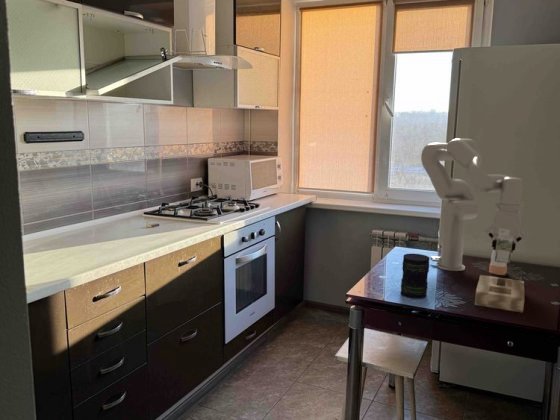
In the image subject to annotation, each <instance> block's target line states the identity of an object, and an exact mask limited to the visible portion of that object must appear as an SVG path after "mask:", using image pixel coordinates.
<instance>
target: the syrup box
mask: <svg viewBox="0 0 560 420" xmlns="http://www.w3.org/2000/svg"><path fill="white" fill-rule="evenodd" d="M509 232H510V230H508V229H503V228H499V234H498V236H497V238H496V247H495V252H494V260H495V261H496V262H503V263H507V264H510V260H511V254H512V253H511V249H512V242H513V236H509Z"/></svg>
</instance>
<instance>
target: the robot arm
mask: <svg viewBox="0 0 560 420" xmlns="http://www.w3.org/2000/svg"><path fill="white" fill-rule="evenodd" d="M478 151H479V146H478V144H477V142H476V141H475V140H474V139H471V138H454V139H451V140H450V141H449V142H431V143H429V144H426V145H425V146H424V147H423V149H422V151H421V155H420V156H421V157H420V159H421V160H420V161H421V165H422V167H423V168H424V171H425V172H426V174H427V175H428V177H429V179H430V181H431V185H432V186H433V188H434V190H435V192H436V194H437V196H438V198H439V199H441V200H443V201H446V202H445V203H444V204H443V205H442V211H441V213H442V238H441V249H440V256H433V255H431V256H430V261H431V262H436V264H435V265H436V268H438V269H441V270H444V271H450V272H463V271H465V269H466V266H465V265H464V264H463V256H464V255H463V254H464V245H465V233H466V229H465V225H464V223H463V221H468V220H474V219H476V218H477V217H478V215H479V213H480V206H479V203H478V201H477V199H476V197H475V195H474V193H473V192H472V189H471V187H470V185H469V184H468V182H466V181H465V180H463V179H459V178H456V179H455V178H452V177H451V175H450V173H449V171H448V169H447V168H446V167H445V166H444V165H443V164H442V163H441V162H452V161H456V162H457V163H458V164H459V165H460V166H461V167H462V169H464V170H465V175H466V177H467V180H468V181H469V182H470V184H471V185H473V186H474V188H476V190H478V191H480V192H482V193H484V194H485V193H486V194H488V193H489V194H492V193H493V194H494V193H500V198H499V202H498V203H496V202H495V206H494V207H496V208H498V209H496V210H495V214H494V218H493V223H492V224H491V225H489V226H488V227H486V228H485V231H484V232H486V234H487V235H488V236H489V238H491V240H492V243H491V248H492V251H493V250H495V247H496V237H497V236H498V234H499V228H503V229H508V230H510V232H509V236H513V242H512V249H511V254H512V253H513V252H515V250H516V244H517V243H519V242H520V241H521V240H523V239H524V238H526V237H527V234H526V233H525V231H524V230H523V229H522V228H521V222H522V215H521V211H520V204H521V200H522V199H521V198H522V192H523V186H524V181H523V179H522V178H520V177H515V176H508V175H506V174H503V173H502V174H501V173H500V174H499V173H498V174H487V173H486V172H485V171H483V170H482V168H480V166H481V165H482V162H483V157H482V155H481V154H479V152H478ZM491 231H492V232H491Z"/></svg>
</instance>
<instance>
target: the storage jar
mask: <svg viewBox="0 0 560 420" xmlns="http://www.w3.org/2000/svg"><path fill="white" fill-rule="evenodd" d="M402 258H403V259H402V278H401V283H400V295H401V296H403V297H405V298H409V299H414V300H415V299H416V300H421V299H422V300H423V299H425V298H427V293H428V284H429V283H428V274H429V272H430V261H431V257H429V256H428V255H424V254H421V253H406V254H403V257H402Z"/></svg>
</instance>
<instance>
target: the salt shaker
mask: <svg viewBox="0 0 560 420" xmlns="http://www.w3.org/2000/svg"><path fill="white" fill-rule="evenodd" d="M496 238H497V237H496ZM494 252H495V250H493V249H492V252H491V256H490V264H489V266H488V267H489V268H488V272H489V273H490V274H492V275H498V276H506V275H507V270H508V266H507V264H508V263H503V262H496V261H495V260H494Z"/></svg>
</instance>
